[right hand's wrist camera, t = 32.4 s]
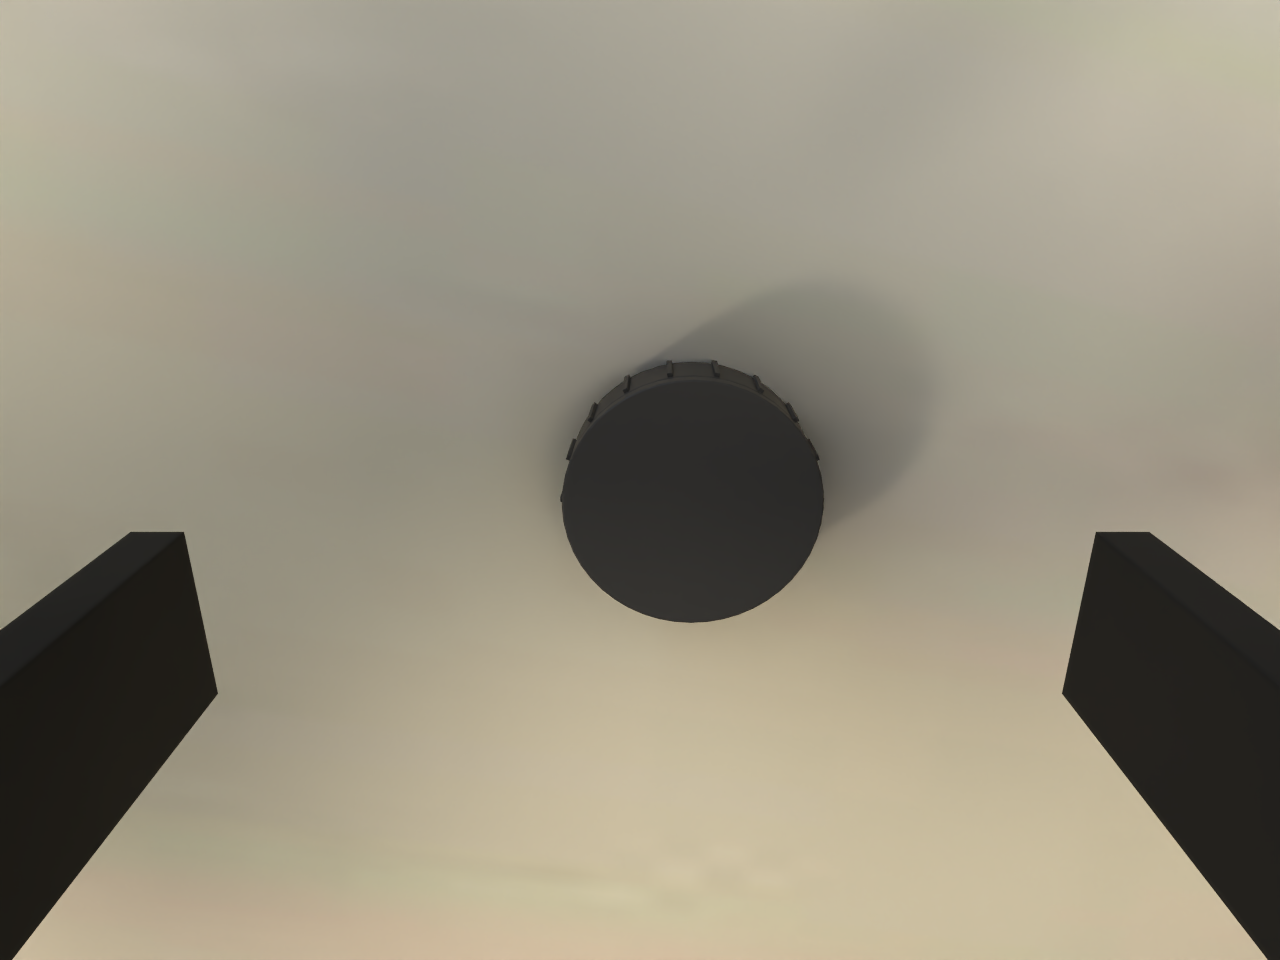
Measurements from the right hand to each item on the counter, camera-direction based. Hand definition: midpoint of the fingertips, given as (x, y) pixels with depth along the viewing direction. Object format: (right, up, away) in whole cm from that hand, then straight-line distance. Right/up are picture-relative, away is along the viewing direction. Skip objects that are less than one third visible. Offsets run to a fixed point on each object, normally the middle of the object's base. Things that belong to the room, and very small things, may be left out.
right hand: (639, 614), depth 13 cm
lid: (+1, +2, +6) cm, 6 cm away
